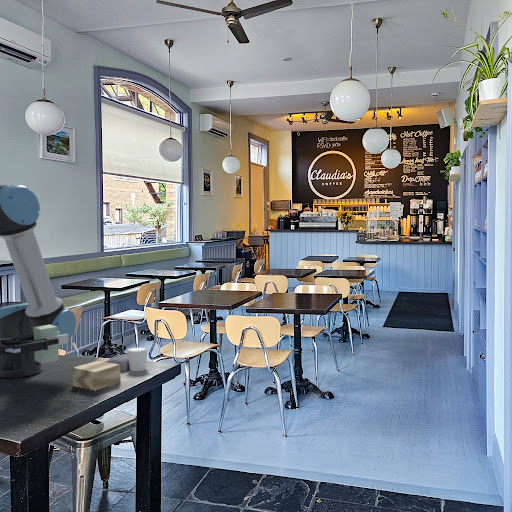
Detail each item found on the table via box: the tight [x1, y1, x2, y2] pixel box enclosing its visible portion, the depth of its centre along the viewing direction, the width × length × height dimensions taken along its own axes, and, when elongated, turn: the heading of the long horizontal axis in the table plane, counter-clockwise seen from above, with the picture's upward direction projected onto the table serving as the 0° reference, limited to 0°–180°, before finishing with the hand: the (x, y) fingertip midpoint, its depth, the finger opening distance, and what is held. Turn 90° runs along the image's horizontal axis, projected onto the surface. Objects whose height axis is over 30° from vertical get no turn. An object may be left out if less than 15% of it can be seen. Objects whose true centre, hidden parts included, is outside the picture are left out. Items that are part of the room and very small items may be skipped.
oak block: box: [72, 360, 122, 392], centre depth 169 cm, size 10×10×6 cm
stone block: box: [104, 353, 130, 372], centre depth 190 cm, size 12×5×10 cm
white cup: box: [126, 346, 148, 372], centre depth 186 cm, size 7×7×7 cm
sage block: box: [33, 325, 60, 365], centre depth 159 cm, size 5×5×10 cm
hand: (63, 337), depth 163 cm, fingers closed on sage block, 5 cm apart
